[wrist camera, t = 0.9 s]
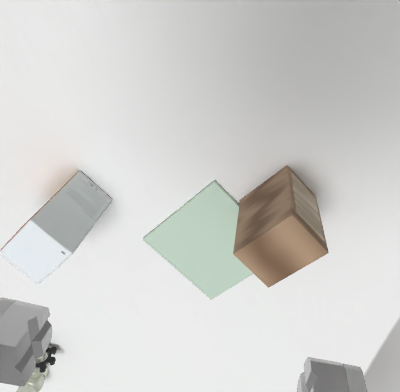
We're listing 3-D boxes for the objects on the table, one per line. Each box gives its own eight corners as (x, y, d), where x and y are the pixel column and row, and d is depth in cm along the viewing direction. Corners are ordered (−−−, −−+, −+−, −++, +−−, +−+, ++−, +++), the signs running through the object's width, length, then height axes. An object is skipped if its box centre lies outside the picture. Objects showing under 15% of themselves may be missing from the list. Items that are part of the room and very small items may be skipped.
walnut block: (288, 164, 48) (293, 213, 38) (317, 196, 50) (330, 251, 39) (240, 200, 52) (233, 254, 41) (268, 228, 53) (268, 287, 43)
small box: (80, 169, 53) (29, 218, 42) (113, 199, 55) (74, 254, 44) (49, 200, 57) (-4, 253, 46) (82, 228, 59) (38, 286, 47)
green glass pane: (214, 180, 51) (214, 182, 50) (285, 251, 55) (286, 253, 54) (143, 237, 57) (142, 239, 57) (211, 296, 61) (211, 299, 61)
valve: (54, 379, 80) (63, 346, 74) (37, 409, 74) (46, 376, 68) (24, 368, 80) (31, 333, 73) (6, 398, 74) (11, 363, 68)
